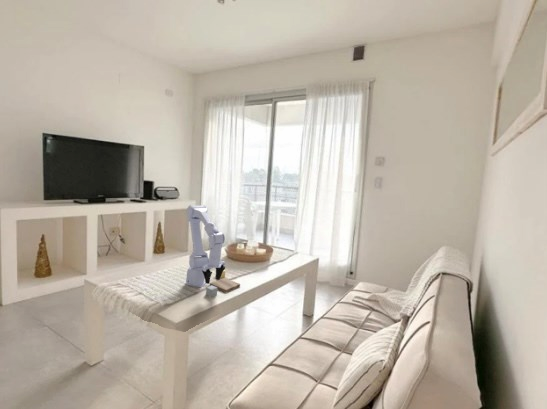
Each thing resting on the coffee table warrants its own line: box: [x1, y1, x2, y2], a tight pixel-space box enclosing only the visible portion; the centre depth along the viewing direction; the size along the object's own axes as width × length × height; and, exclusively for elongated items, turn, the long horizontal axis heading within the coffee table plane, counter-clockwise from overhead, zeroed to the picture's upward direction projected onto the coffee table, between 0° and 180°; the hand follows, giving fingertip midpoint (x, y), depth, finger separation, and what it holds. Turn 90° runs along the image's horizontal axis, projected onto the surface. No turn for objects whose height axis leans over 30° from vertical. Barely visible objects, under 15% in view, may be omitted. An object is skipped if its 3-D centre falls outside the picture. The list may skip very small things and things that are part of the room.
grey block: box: [205, 285, 218, 298], centre depth 158 cm, size 4×4×4 cm
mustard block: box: [220, 269, 226, 279], centre depth 183 cm, size 4×4×4 cm
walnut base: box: [209, 277, 241, 293], centre depth 170 cm, size 12×12×2 cm
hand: (212, 281), depth 157 cm, fingers open, 7 cm apart
